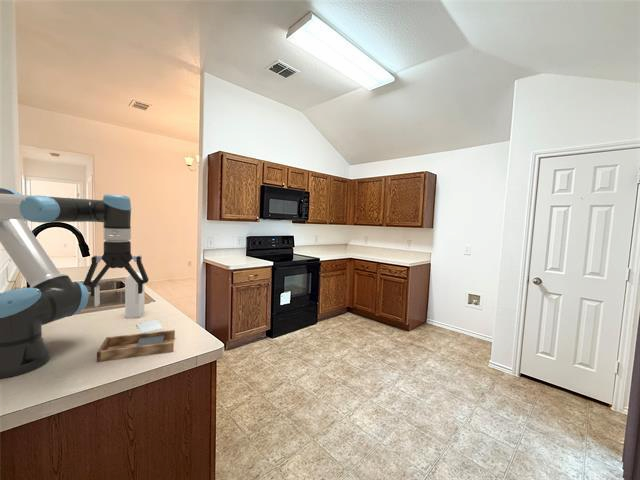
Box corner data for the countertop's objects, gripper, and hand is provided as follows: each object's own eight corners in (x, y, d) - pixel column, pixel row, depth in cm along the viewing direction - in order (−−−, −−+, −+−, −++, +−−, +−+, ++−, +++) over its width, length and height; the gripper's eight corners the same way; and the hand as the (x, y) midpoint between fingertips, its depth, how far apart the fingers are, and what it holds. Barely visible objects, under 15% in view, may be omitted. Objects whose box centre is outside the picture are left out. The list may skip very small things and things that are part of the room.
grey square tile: (136, 353, 97) (136, 347, 97) (139, 343, 105) (139, 337, 104) (162, 350, 101) (162, 343, 101) (164, 340, 108) (164, 334, 108)
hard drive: (135, 323, 122) (141, 333, 113) (157, 319, 128) (164, 328, 119) (136, 327, 123) (141, 337, 113) (157, 322, 128) (164, 332, 119)
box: (96, 364, 91) (96, 352, 91) (106, 347, 102) (106, 337, 102) (173, 353, 101) (173, 342, 100) (174, 339, 111) (174, 329, 111)
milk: (144, 313, 137) (145, 269, 135) (139, 318, 131) (139, 271, 129) (130, 313, 136) (130, 268, 134) (124, 318, 130) (125, 271, 128)
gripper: (69, 241, 87) (70, 310, 89) (155, 242, 97) (155, 304, 99) (77, 239, 94) (78, 303, 96) (157, 240, 104) (157, 298, 106)
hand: (117, 303), depth 97 cm, fingers open, 11 cm apart
